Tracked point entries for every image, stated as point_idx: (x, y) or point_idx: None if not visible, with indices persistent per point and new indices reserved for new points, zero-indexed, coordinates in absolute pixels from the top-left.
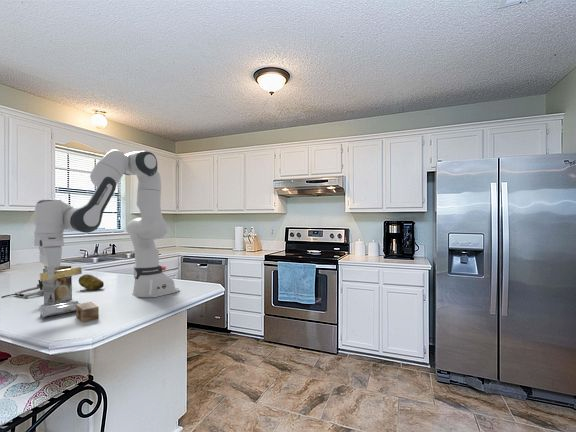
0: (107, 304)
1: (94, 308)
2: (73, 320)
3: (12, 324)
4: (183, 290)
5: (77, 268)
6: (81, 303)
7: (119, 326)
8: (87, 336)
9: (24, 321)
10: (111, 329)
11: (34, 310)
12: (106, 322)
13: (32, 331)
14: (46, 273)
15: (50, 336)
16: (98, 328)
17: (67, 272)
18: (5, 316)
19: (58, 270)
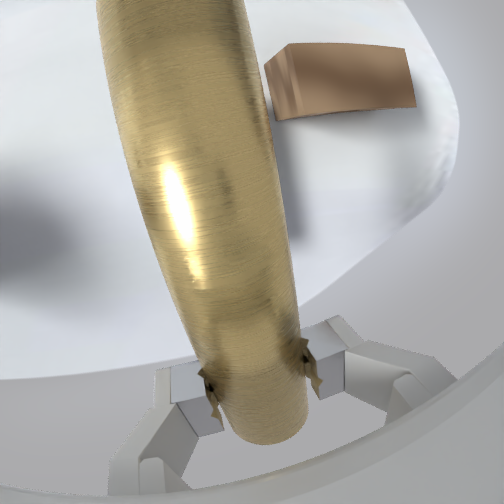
0: (75, 13)
1: (406, 64)
2: (274, 131)
3: None
4: None
5: (229, 7)
6: (299, 89)
7: (421, 35)
8: (450, 120)
9: (170, 311)
10: (433, 59)
11: (23, 304)
12: (371, 42)
13: (326, 259)
14: (297, 402)
15: (405, 202)
16: (413, 79)
17: (276, 176)
18: (74, 372)
19: (252, 324)
